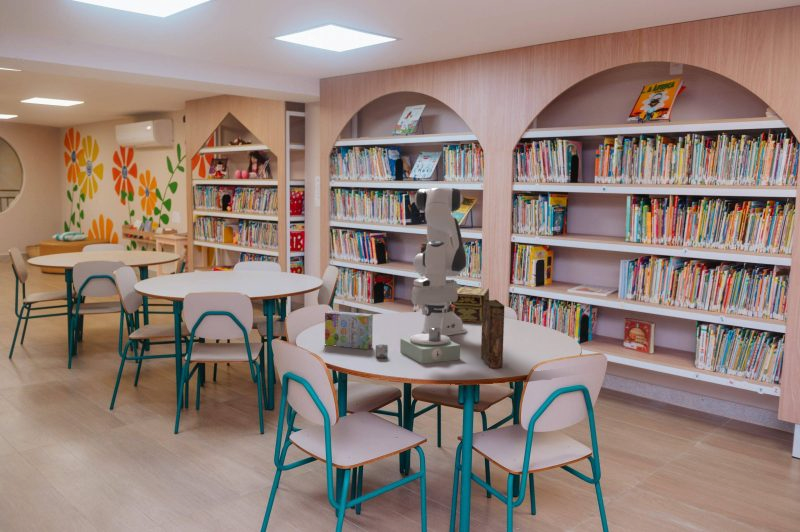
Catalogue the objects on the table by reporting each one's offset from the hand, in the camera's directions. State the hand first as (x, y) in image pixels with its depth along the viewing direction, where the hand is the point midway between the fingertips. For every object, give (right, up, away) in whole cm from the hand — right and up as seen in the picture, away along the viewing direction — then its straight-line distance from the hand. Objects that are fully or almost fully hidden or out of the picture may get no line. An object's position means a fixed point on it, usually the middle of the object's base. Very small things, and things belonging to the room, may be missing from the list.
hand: (434, 313), depth 265 cm
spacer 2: (0, -11, +1) cm, 11 cm away
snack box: (-37, -16, +20) cm, 45 cm away
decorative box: (+24, -9, +88) cm, 91 cm away
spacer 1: (-22, -19, +2) cm, 29 cm away
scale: (-2, -18, +6) cm, 19 cm away
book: (+23, -20, -4) cm, 31 cm away
